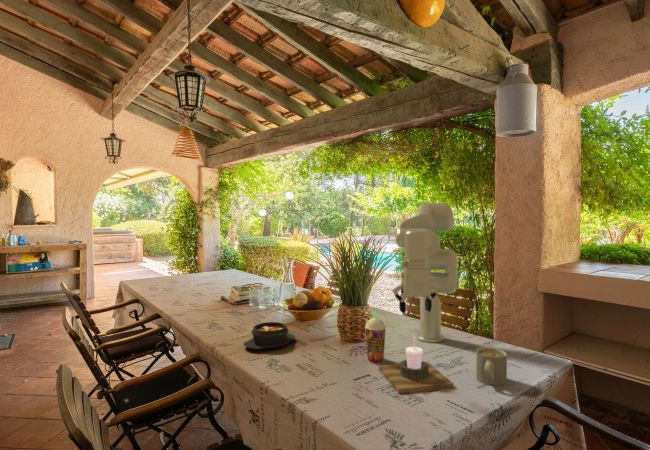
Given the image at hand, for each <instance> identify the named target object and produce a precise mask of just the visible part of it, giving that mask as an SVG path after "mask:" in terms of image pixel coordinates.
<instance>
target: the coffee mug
mask: <svg viewBox="0 0 650 450" xmlns="http://www.w3.org/2000/svg"><path fill="white" fill-rule="evenodd" d="M507 361H508V357H507V353H506V351H504V350H503V349H499V348H493V347H478V348H477V349H476V365H475V369H476V371H475V372H476V378H475V379H476V380H477V382H480V383H481V384H484V385H487V386H492V387H502V386H505V385H506V384H507V375H508V374H507V373H508V372H507V368H508V367H507V365H508V362H507Z"/></svg>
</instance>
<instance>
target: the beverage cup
mask: <svg viewBox="0 0 650 450" xmlns="http://www.w3.org/2000/svg"><path fill="white" fill-rule="evenodd" d="M405 353H406V360H407V367H408V368H412V369H421V361H423V359H422V358H423V353H424V350H423V348H421V347H418V346H416V335H413V346H407V347H406V348H405Z"/></svg>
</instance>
